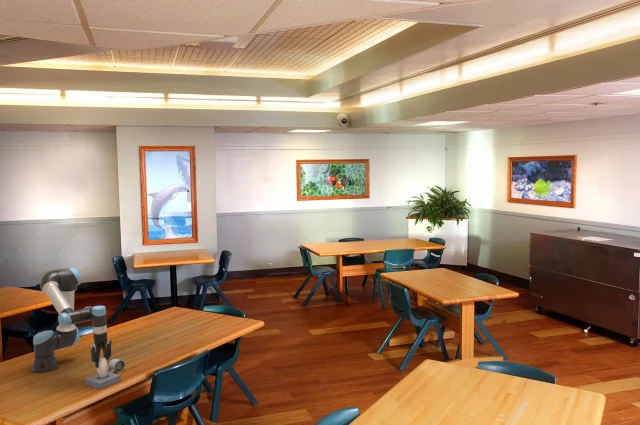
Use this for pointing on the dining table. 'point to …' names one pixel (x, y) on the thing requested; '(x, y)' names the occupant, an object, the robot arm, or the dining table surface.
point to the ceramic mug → (116, 365)
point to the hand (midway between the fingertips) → (102, 371)
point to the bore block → (102, 380)
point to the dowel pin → (102, 368)
